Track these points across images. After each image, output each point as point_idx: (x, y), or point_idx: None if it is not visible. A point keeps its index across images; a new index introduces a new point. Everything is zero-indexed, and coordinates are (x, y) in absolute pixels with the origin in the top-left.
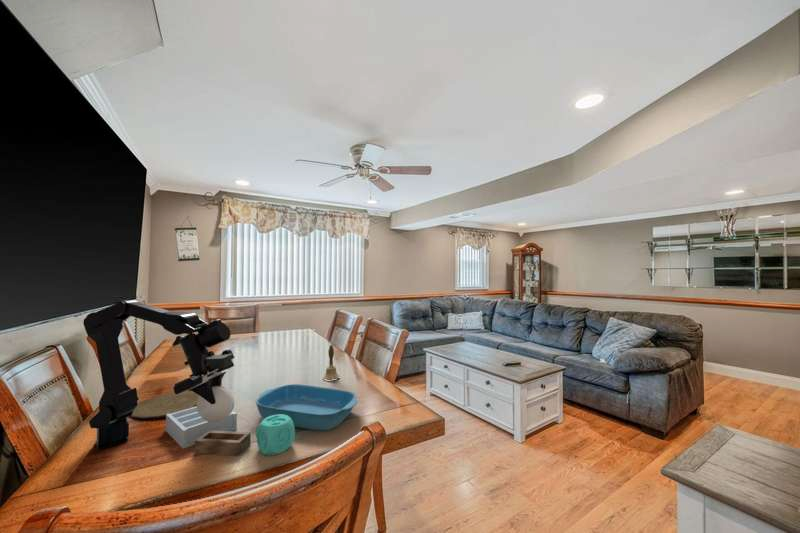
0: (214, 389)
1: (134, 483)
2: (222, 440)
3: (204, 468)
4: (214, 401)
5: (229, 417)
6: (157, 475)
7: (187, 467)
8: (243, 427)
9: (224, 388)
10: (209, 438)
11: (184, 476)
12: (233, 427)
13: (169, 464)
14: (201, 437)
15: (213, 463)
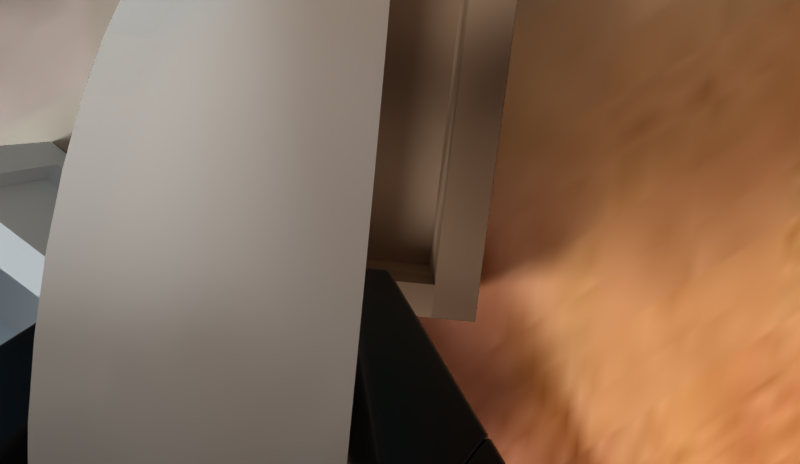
0: (345, 430)
1: (794, 460)
2: (481, 54)
3: (674, 92)
4: (395, 284)
5: (17, 216)
6: (724, 377)
7: (648, 231)
8: (7, 91)
9: (133, 169)
10: None
11: (759, 185)
12: (60, 164)
13: (598, 383)
14: (413, 297)
15: (612, 57)
